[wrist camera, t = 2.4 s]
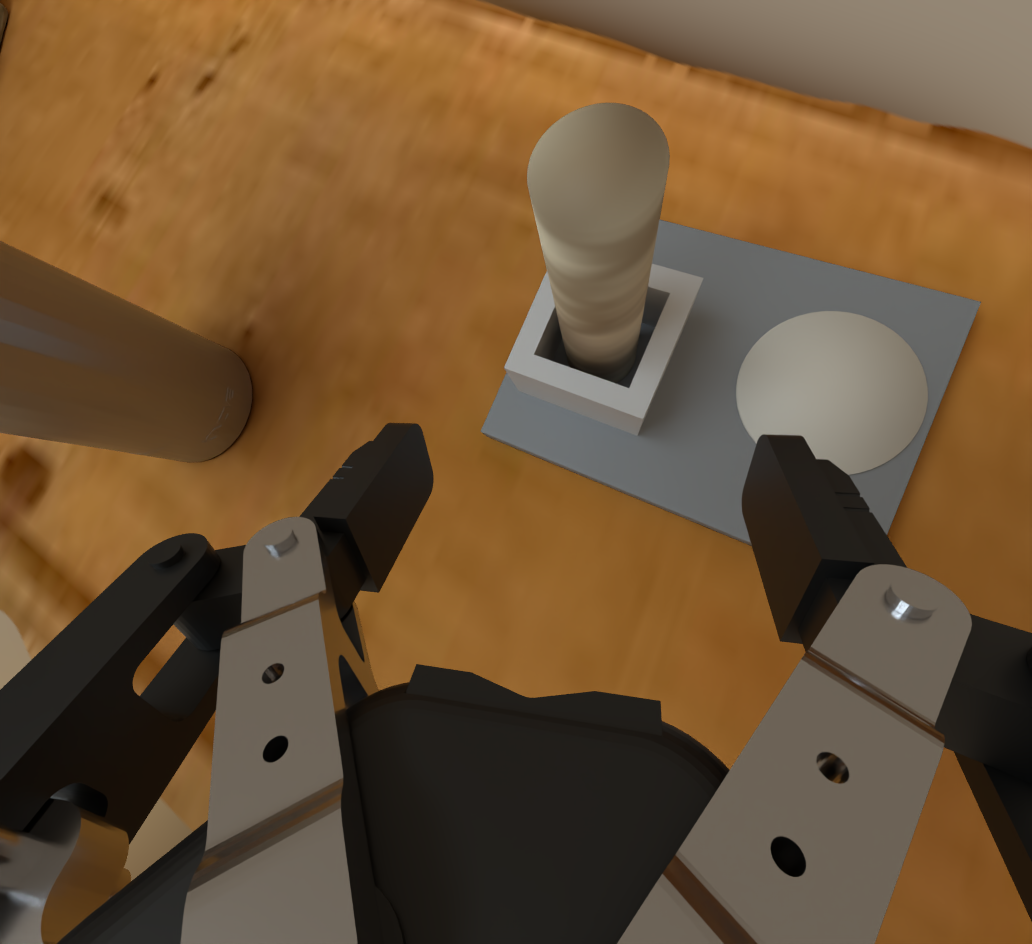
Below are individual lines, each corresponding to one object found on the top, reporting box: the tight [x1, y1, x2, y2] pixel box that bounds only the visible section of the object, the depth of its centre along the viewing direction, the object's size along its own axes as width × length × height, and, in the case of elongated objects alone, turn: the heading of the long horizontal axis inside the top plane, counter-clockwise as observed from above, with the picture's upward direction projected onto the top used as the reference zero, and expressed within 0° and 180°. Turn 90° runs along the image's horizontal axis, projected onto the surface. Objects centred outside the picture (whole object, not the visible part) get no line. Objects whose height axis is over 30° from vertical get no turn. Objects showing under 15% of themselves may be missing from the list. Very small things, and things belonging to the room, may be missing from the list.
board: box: [481, 220, 981, 546], centre depth 24 cm, size 22×16×6 cm
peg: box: [527, 103, 670, 383], centre depth 19 cm, size 4×4×14 cm
